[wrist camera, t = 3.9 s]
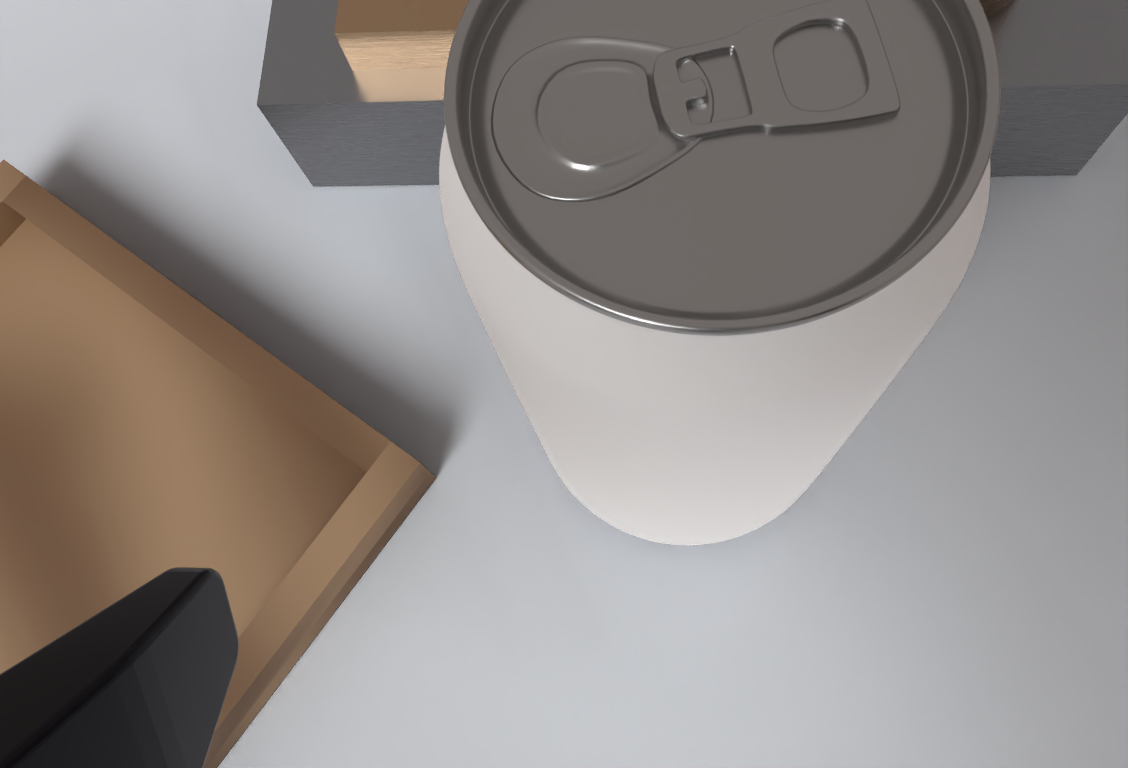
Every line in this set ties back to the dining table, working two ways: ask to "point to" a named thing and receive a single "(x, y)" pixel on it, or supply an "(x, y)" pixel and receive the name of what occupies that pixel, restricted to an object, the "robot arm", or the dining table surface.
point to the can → (711, 230)
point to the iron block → (436, 3)
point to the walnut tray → (168, 456)
